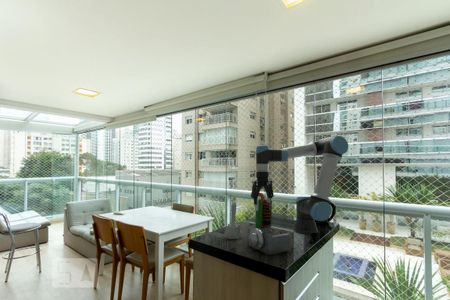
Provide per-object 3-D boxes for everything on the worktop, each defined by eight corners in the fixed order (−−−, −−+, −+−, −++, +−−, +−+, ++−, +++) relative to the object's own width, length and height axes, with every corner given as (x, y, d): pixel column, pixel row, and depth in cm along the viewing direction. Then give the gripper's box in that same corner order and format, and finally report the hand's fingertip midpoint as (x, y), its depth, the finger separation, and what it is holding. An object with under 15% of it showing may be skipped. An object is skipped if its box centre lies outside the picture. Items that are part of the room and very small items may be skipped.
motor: (266, 230, 131) (267, 194, 133) (252, 228, 136) (252, 193, 138) (273, 227, 140) (273, 193, 141) (259, 225, 144) (259, 192, 146)
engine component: (223, 238, 137) (240, 239, 135) (223, 202, 138) (240, 203, 136) (226, 233, 147) (242, 234, 145) (227, 200, 149) (243, 201, 147)
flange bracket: (267, 241, 132) (268, 222, 132) (289, 250, 118) (289, 229, 119) (242, 246, 122) (242, 225, 123) (262, 256, 109) (262, 233, 110)
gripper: (271, 171, 149) (271, 207, 147) (244, 171, 138) (244, 210, 136) (279, 171, 143) (280, 209, 141) (252, 171, 132) (252, 212, 130)
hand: (262, 209), depth 138 cm, fingers closed on motor, 8 cm apart
